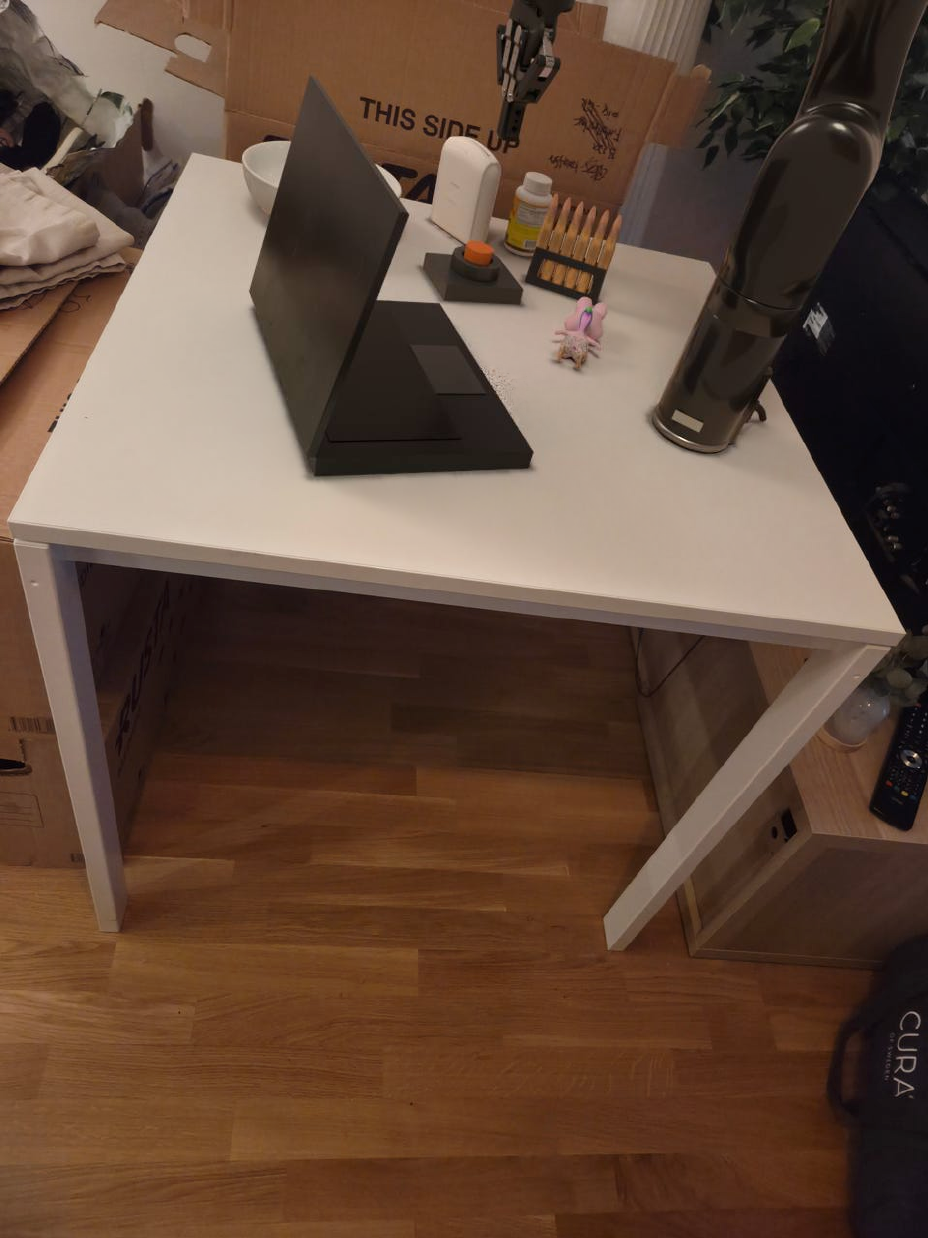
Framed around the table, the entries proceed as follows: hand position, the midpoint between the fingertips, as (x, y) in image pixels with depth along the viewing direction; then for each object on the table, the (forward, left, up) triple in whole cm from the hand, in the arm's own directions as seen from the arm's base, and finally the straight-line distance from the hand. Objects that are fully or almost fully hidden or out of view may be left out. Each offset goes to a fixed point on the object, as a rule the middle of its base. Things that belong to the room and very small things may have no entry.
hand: (506, 138), depth 89 cm
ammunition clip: (-16, -4, -19) cm, 25 cm away
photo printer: (-6, -21, -19) cm, 29 cm away
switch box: (-2, -4, -19) cm, 20 cm away
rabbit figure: (-12, +10, -19) cm, 25 cm away
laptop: (+17, +20, -19) cm, 33 cm away
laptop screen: (+26, +20, -7) cm, 33 cm away
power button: (-2, -4, -16) cm, 16 cm away
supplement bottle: (-15, -17, -19) cm, 29 cm away
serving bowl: (+15, -20, -19) cm, 32 cm away
